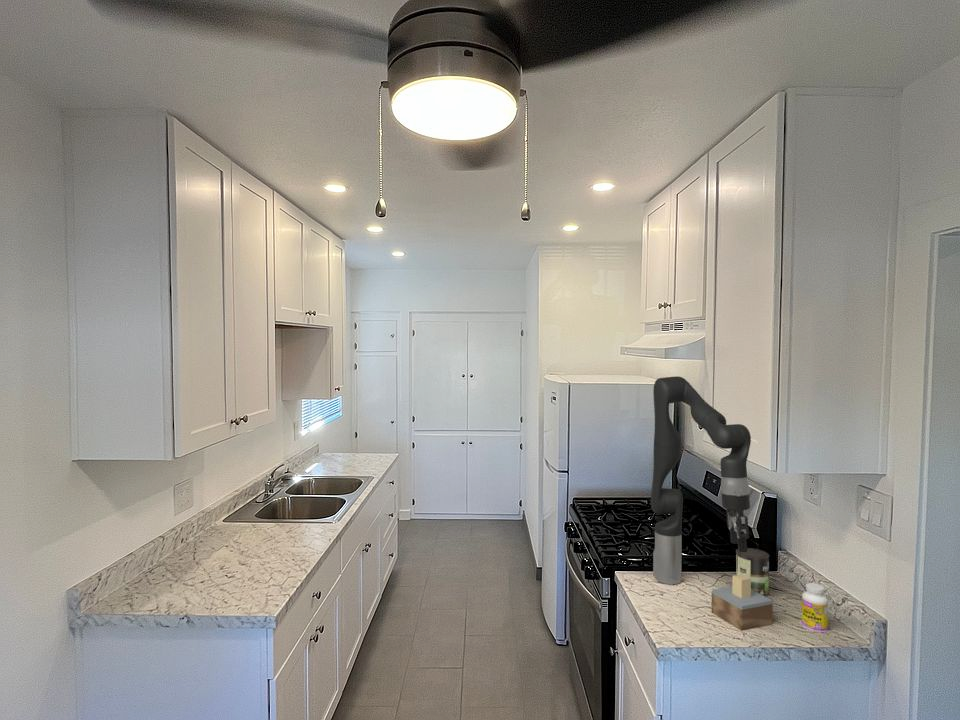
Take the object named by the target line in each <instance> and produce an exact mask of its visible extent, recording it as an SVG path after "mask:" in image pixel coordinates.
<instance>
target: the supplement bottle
mask: <svg viewBox="0 0 960 720" xmlns="http://www.w3.org/2000/svg"><path fill="white" fill-rule="evenodd" d="M805 589H806V591H804V592H803V593H802V594H801V625H802V626H803V627H804V628H805V629H808V630H810V631H812V632H820V633H824V632H827V631H828V625H829V624H828V623H829V622H828V621H829V617H828V616H829V599H828V598H827V596H826V595H825V594H824V593H825V587H824V586H823V585H821V584H818V583H811V582H808V583H806V584H805Z"/></svg>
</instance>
